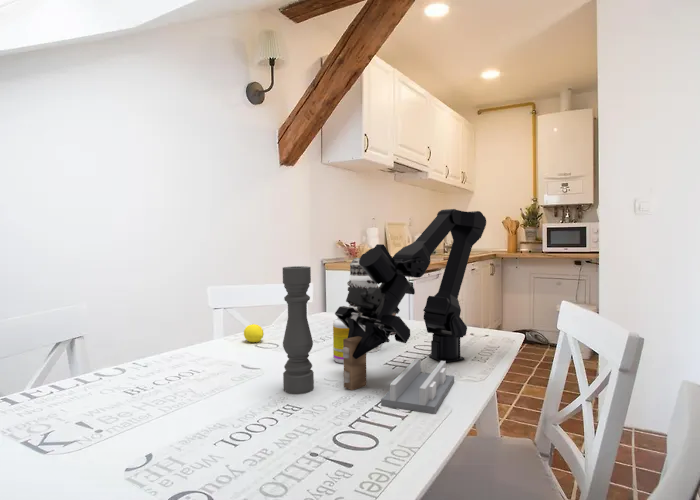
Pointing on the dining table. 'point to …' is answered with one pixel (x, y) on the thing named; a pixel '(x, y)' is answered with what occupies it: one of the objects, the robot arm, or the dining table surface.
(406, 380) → the grey long channel piece
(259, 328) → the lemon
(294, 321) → the candle holder
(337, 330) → the supplement bottle
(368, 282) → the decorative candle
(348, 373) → the brown wooden block
